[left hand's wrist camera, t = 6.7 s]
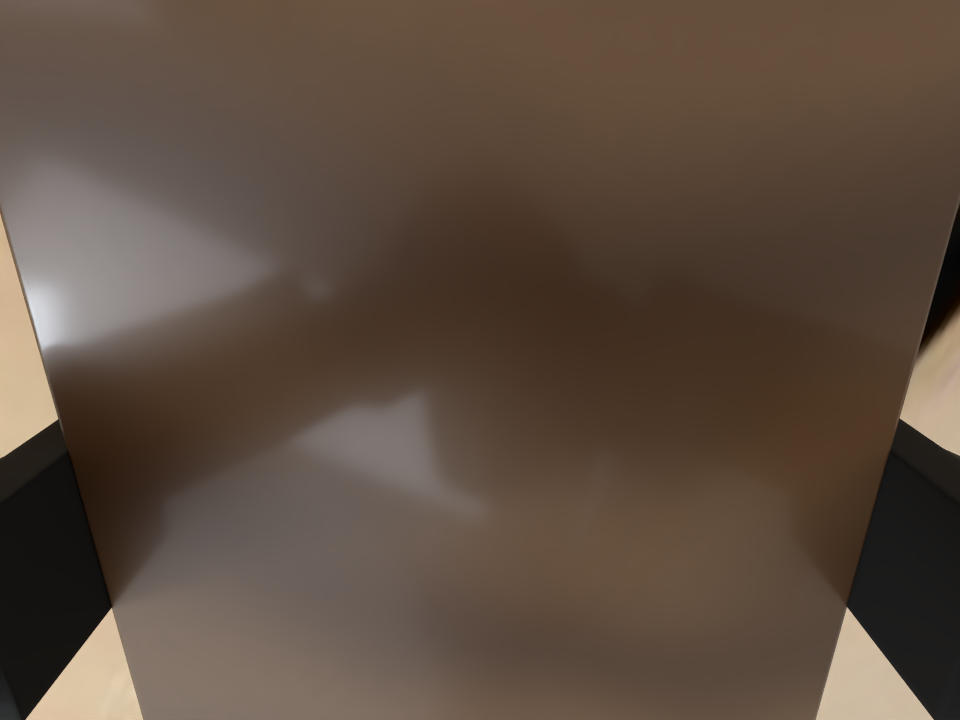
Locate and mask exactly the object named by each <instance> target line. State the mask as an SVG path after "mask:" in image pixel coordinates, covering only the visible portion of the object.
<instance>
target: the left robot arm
mask: <svg viewBox="0 0 960 720" xmlns="http://www.w3.org/2000/svg"><path fill="white" fill-rule="evenodd" d="M847 607H848V609H849V610H850V611H851V613H852V614H853V615H854V616H855V618H856V619H857V620H858V622H859V623H860V624H861V626H862V627H863V628H864V629H865V631H866V632H867V633H868V635H869V636H870V637H871V638H872V640H873V641H874V642H875V644H876V645H877V646H878V648H879V649H880V650H881V651H882V653H883V654H884V655H885V657H886V658H887V659H888V661H889V662H890V663H891V664H892V666H893V667H894V668H895V670H896V671H897V672H898V674H899V675H900V676H901V677H902V679H903V680H904V681H905V683H906V684H907V685H908V687H909V688H910V689H911V690H912V692H913V693H914V694H915V696H916V697H917V698H918V700H919V701H920V702H921V703H922V705H923V706H924V707H925V709H926V710H927V711H928V713H929V714H930V715H931V716H932V718H933V719H934V720H960V456H959V455H956V454H954V453H952V452H950V451H947V450H945V449H943V448H942V447H940V446H939V445H937V444H936V443H934V442H933V441H931V440H930V439H929V438H927V437H926V436H924V435H923V434H921V433H920V432H918V431H917V430H915V429H914V428H913V427H911V426H910V425H908V424H907V423H905V422H904V421H902V420H901V419H899V421H898V425H897V429H896V432H895V436H894V439H893V443H892V447H891V450H890V454H889V457H888V461H887V465H886V468H885V472H884V475H883V479H882V482H881V486H880V490H879V493H878V497H877V500H876V504H875V508H874V511H873V515H872V518H871V522H870V526H869V529H868V533H867V536H866V540H865V544H864V547H863V551H862V554H861V558H860V562H859V565H858V569H857V572H856V576H855V580H854V583H853V587H852V590H851V594H850V598H849V601H848V605H847ZM111 608H112V606H111V603H110V599H109V596H108V592H107V589H106V585H105V582H104V578H103V575H102V571H101V567H100V564H99V560H98V557H97V553H96V550H95V546H94V543H93V539H92V536H91V532H90V529H89V525H88V522H87V518H86V514H85V511H84V507H83V504H82V500H81V497H80V493H79V490H78V486H77V483H76V479H75V476H74V472H73V469H72V465H71V461H70V458H69V454H68V451H67V447H66V444H65V440H64V437H63V433H62V430H61V426H60V423H59V419H58V420H57V421H55V422H54V423H52V424H51V425H50V426H48V427H47V428H45V429H44V430H42V431H41V432H39V433H38V434H37V435H35V436H34V437H32V438H31V439H29V440H28V441H26V442H25V443H23V444H22V445H21V446H19V447H18V448H16V449H15V450H13V451H12V452H10V453H9V454H7V455H6V456H4V457H2V458H0V720H25V719H26V718H27V717H28V716H29V714H30V713H31V712H32V710H33V709H34V708H35V706H36V705H37V704H38V703H39V701H40V700H41V699H42V697H43V696H44V695H45V693H46V692H47V691H48V690H49V688H50V687H51V686H52V684H53V683H54V682H55V680H56V679H57V678H58V677H59V675H60V674H61V673H62V671H63V670H64V669H65V667H66V666H67V665H68V664H69V662H70V661H71V660H72V658H73V657H74V656H75V654H76V653H77V652H78V651H79V649H80V648H81V647H82V645H83V644H84V643H85V641H86V640H87V639H88V638H89V636H90V635H91V634H92V632H93V631H94V630H95V628H96V627H97V626H98V625H99V623H100V622H101V621H102V619H103V618H104V617H105V616H106V614H107V613H108V612H109V610H110V609H111Z"/></svg>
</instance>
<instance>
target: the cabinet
mask: <svg viewBox="0 0 960 720" xmlns="http://www.w3.org/2000/svg"><path fill="white" fill-rule="evenodd" d="M959 202H960V0H0V214H1V218H2V221H3V225H4V228H5V232H6V235H7V239H8V242H9V246H10V249H11V253H12V257H13V260H14V264H15V267H16V271H17V274H18V278H19V281H20V285H21V288H22V292H23V295H24V299H25V302H26V306H27V310H28V313H29V317H30V320H31V324H32V327H33V331H34V334H35V338H36V341H37V345H38V348H39V352H40V355H41V359H42V363H43V366H44V370H45V373H46V377H47V380H48V384H49V387H50V391H51V394H52V398H53V401H54V405H55V408H56V412H57V416H58V419H59V423H60V426H61V430H62V433H63V437H64V440H65V444H66V447H67V451H68V454H69V458H70V461H71V465H72V469H73V472H74V476H75V479H76V483H77V486H78V490H79V493H80V497H81V500H82V504H83V507H84V511H85V514H86V518H87V522H88V525H89V529H90V532H91V536H92V539H93V543H94V546H95V550H96V553H97V557H98V560H99V564H100V567H101V571H102V575H103V578H104V582H105V585H106V589H107V592H108V596H109V599H110V603H111V606H112V610H113V613H114V617H115V620H116V624H117V628H118V631H119V635H120V638H121V642H122V645H123V649H124V652H125V656H126V659H127V663H128V666H129V670H130V673H131V677H132V681H133V684H134V688H135V691H136V695H137V698H138V702H139V705H140V709H141V712H142V716H143V719H144V720H816V716H817V713H818V709H819V706H820V702H821V698H822V695H823V691H824V688H825V684H826V680H827V677H828V673H829V670H830V666H831V662H832V659H833V655H834V652H835V648H836V644H837V641H838V637H839V634H840V630H841V626H842V623H843V619H844V616H845V612H846V608H847V605H848V601H849V598H850V594H851V590H852V587H853V583H854V580H855V576H856V572H857V569H858V565H859V562H860V558H861V554H862V551H863V547H864V544H865V540H866V536H867V533H868V529H869V526H870V522H871V518H872V515H873V511H874V508H875V504H876V500H877V497H878V493H879V490H880V486H881V482H882V479H883V475H884V472H885V468H886V465H887V461H888V457H889V454H890V450H891V447H892V443H893V439H894V436H895V432H896V429H897V425H898V421H899V418H900V414H901V411H902V407H903V403H904V400H905V396H906V393H907V389H908V385H909V382H910V378H911V375H912V371H913V367H914V364H915V360H916V357H917V353H918V349H919V346H920V342H921V339H922V335H923V331H924V328H925V324H926V321H927V317H928V313H929V310H930V306H931V303H932V299H933V295H934V292H935V288H936V285H937V281H938V277H939V274H940V270H941V267H942V263H943V259H944V256H945V252H946V249H947V245H948V241H949V238H950V234H951V231H952V227H953V223H954V220H955V216H956V213H957V209H958V205H959Z"/></svg>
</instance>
